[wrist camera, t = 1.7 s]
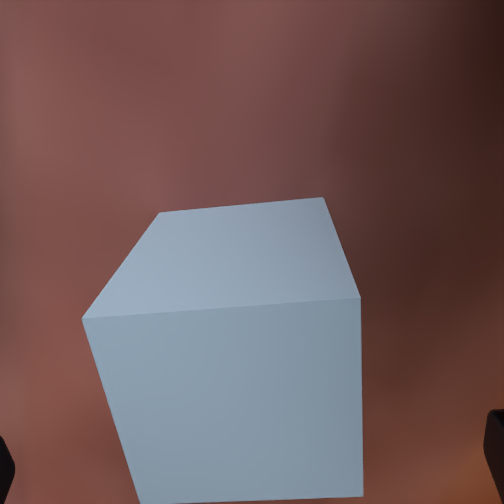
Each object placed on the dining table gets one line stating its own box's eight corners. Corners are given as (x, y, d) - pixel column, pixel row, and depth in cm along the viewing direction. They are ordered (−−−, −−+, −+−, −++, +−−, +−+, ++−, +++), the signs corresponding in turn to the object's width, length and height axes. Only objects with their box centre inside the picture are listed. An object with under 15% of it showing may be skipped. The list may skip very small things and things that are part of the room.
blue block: (323, 196, 13) (360, 297, 7) (329, 336, 15) (363, 496, 9) (159, 212, 13) (81, 318, 8) (187, 345, 15) (140, 504, 10)
